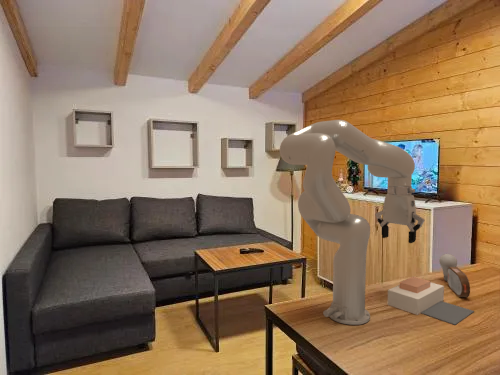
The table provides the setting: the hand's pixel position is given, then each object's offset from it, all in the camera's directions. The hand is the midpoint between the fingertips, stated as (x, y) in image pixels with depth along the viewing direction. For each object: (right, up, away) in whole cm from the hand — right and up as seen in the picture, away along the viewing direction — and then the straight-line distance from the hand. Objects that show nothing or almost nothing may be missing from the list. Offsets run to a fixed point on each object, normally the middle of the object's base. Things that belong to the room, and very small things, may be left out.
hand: (398, 239), depth 121 cm
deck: (+4, -20, -4) cm, 21 cm away
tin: (+23, -20, +4) cm, 31 cm away
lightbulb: (+26, -19, +15) cm, 35 cm away
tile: (+4, -15, -4) cm, 16 cm away
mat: (+10, -21, -12) cm, 26 cm away
